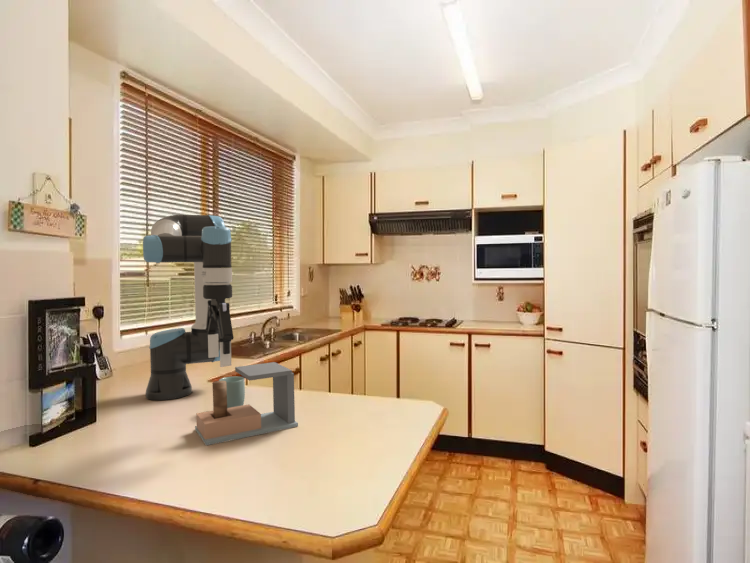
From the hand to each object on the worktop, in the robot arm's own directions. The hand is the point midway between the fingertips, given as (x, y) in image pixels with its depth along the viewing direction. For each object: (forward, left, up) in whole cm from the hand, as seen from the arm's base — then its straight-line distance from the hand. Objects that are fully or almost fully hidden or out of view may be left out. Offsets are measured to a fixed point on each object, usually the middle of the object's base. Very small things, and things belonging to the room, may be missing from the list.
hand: (219, 361), depth 127 cm
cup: (-19, +8, -20) cm, 28 cm away
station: (0, +7, -20) cm, 21 cm away
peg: (0, 0, -18) cm, 18 cm away
